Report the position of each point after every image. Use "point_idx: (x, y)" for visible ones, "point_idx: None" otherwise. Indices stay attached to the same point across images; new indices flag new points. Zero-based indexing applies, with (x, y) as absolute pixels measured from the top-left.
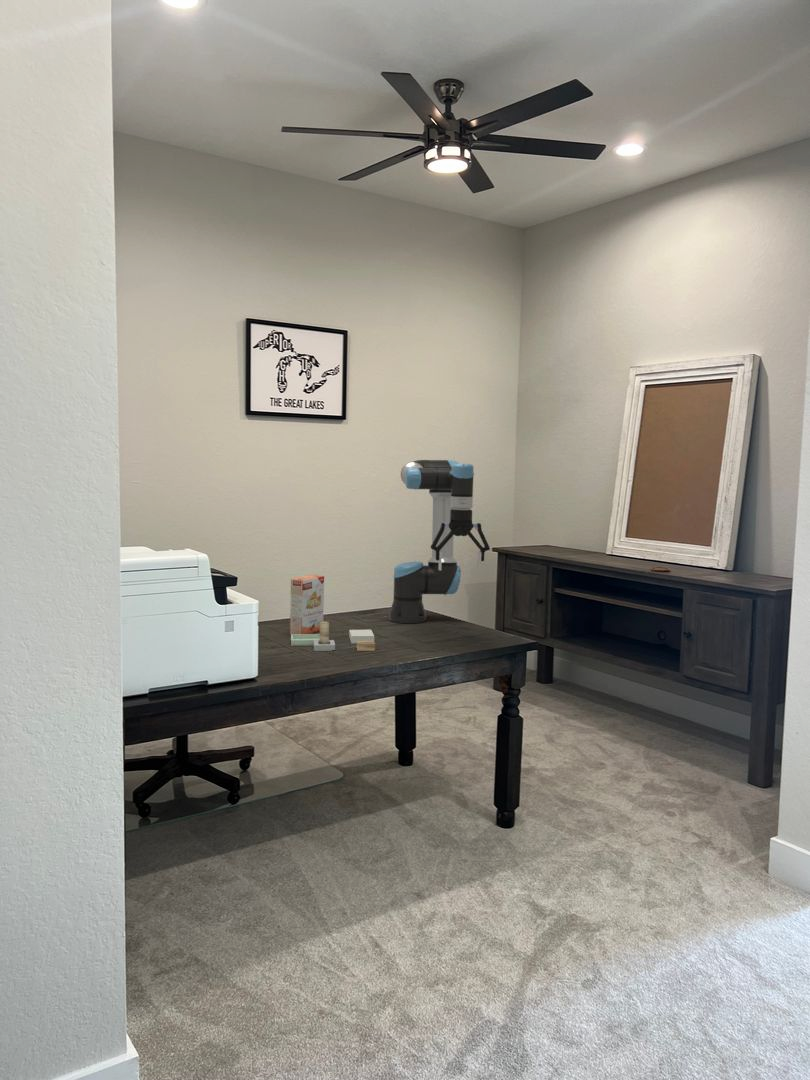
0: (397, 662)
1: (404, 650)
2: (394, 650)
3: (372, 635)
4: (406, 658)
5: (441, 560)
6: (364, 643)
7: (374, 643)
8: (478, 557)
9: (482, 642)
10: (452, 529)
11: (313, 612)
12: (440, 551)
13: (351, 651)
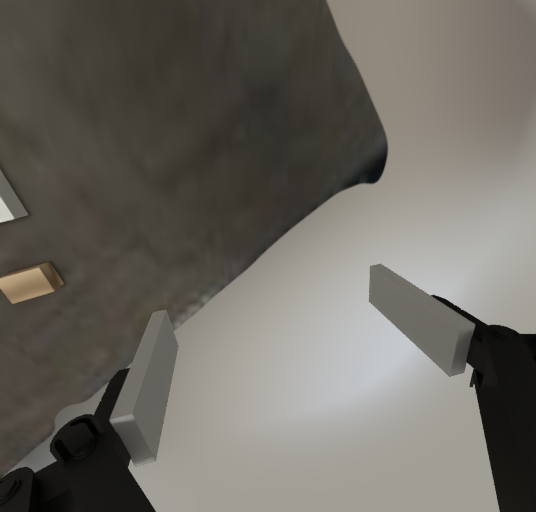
0: None
1: (129, 266)
2: (107, 270)
3: (7, 215)
4: None
5: (167, 395)
6: (28, 297)
7: (52, 291)
8: (420, 325)
9: (293, 158)
10: None
11: None
12: (138, 452)
13: None
